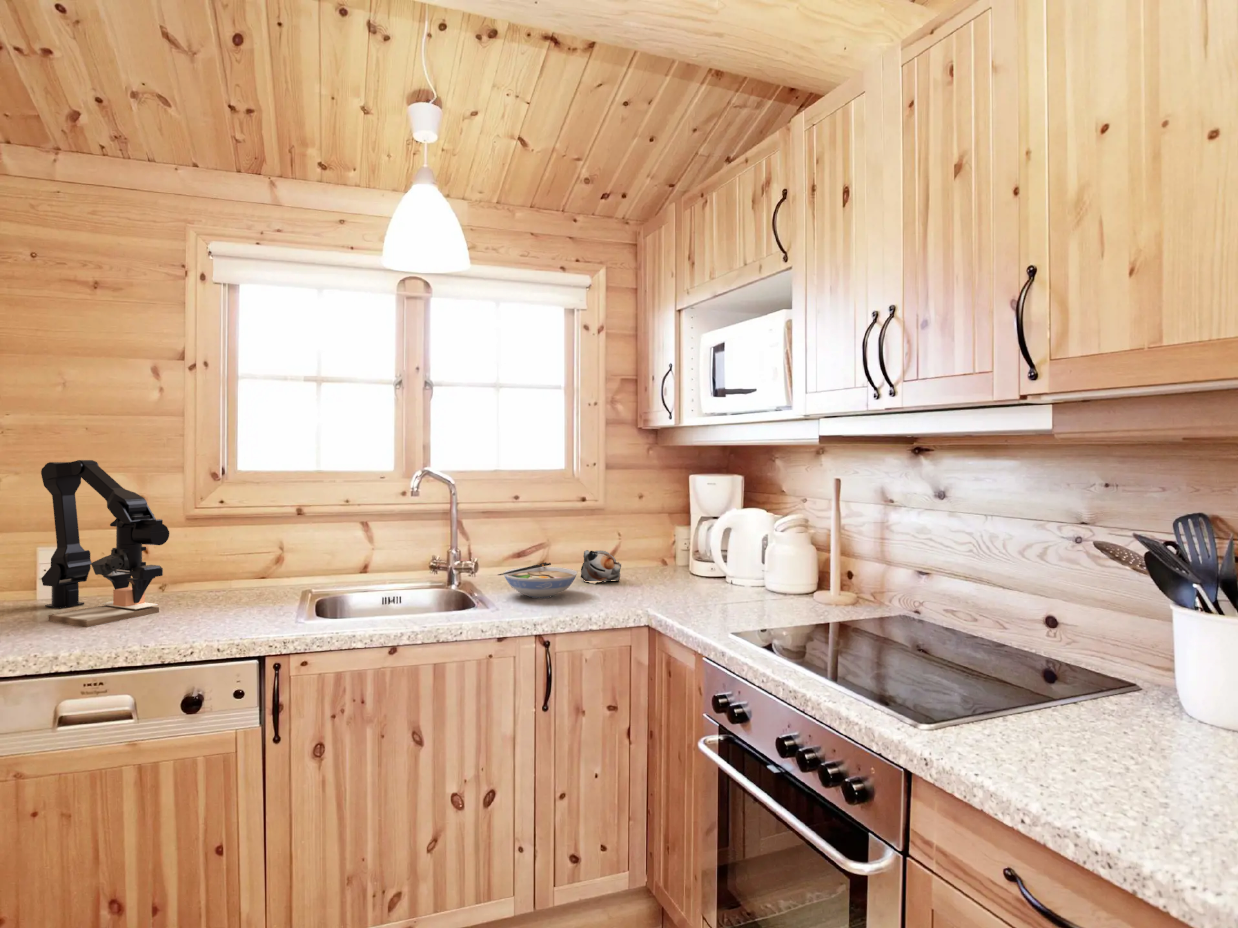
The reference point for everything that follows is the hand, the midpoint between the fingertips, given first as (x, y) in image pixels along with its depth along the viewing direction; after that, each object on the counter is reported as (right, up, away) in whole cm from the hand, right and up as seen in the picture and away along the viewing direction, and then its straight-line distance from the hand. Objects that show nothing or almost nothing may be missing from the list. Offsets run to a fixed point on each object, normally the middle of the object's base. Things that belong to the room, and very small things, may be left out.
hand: (129, 601), depth 189 cm
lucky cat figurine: (+125, -4, +54) cm, 137 cm away
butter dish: (0, -1, 0) cm, 1 cm away
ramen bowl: (+107, -4, +29) cm, 111 cm away
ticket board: (-2, -3, -6) cm, 7 cm away
